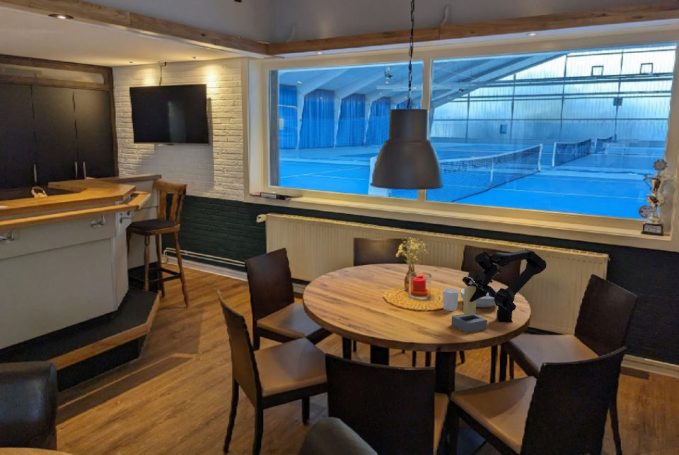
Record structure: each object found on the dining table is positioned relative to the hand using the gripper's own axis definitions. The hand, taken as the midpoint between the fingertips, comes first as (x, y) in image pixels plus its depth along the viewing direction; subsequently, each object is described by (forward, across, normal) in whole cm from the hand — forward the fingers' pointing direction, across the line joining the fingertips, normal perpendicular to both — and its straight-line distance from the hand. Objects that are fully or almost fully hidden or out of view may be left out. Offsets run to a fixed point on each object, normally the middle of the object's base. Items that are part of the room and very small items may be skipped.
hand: (467, 300), depth 243 cm
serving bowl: (-10, -23, +29) cm, 39 cm away
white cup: (+4, -24, +16) cm, 29 cm away
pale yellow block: (+4, 0, +6) cm, 7 cm away
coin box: (+8, 0, +10) cm, 13 cm away
